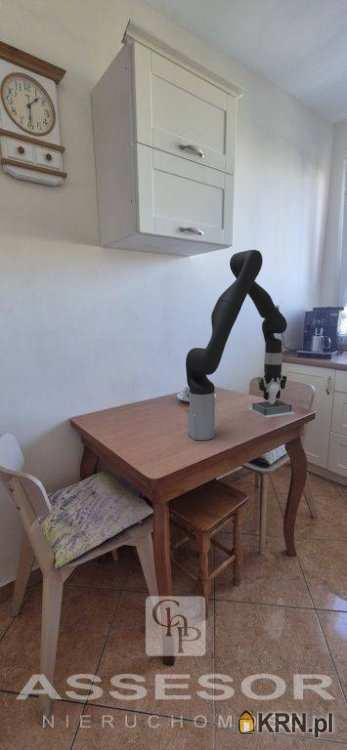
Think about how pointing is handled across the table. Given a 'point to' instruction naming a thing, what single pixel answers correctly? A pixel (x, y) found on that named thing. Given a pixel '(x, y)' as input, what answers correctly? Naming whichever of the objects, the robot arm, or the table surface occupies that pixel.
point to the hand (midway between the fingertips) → (271, 398)
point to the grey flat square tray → (272, 409)
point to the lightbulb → (273, 392)
